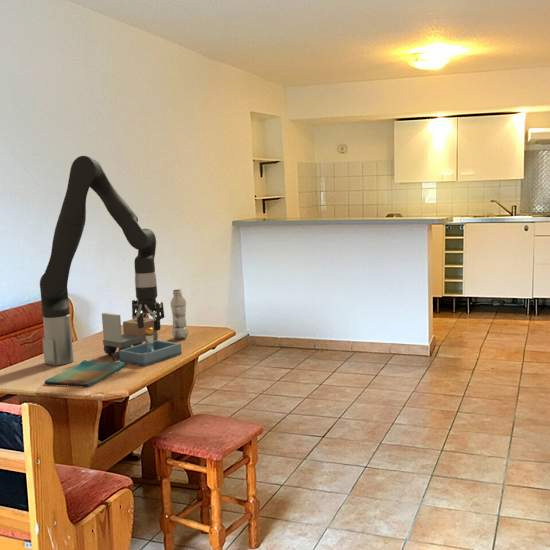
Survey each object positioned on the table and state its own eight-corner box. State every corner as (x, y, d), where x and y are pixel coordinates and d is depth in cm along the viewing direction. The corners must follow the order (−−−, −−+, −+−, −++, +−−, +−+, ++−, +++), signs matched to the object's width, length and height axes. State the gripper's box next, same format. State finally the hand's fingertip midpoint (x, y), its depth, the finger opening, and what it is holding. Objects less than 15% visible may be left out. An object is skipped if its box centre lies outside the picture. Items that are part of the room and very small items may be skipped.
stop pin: (150, 356, 230) (148, 329, 228) (145, 355, 231) (143, 328, 230) (156, 354, 232) (154, 327, 231) (151, 353, 234) (149, 327, 232)
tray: (144, 366, 221) (143, 355, 220) (119, 361, 228) (118, 350, 228) (181, 354, 235) (180, 343, 234) (157, 350, 243) (156, 339, 242)
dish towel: (127, 368, 222) (126, 361, 221) (90, 389, 199) (89, 381, 199) (83, 366, 226) (83, 359, 226) (43, 386, 204) (42, 378, 204)
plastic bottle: (169, 340, 258) (166, 291, 255) (176, 336, 264) (173, 288, 262) (184, 340, 256) (181, 291, 253) (191, 336, 262) (188, 288, 260)
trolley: (117, 360, 230) (113, 316, 228) (98, 356, 236) (95, 314, 234) (160, 347, 247) (157, 306, 244) (141, 344, 253) (138, 304, 251)
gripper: (124, 285, 229) (127, 329, 231) (151, 287, 221) (154, 333, 223) (140, 282, 235) (143, 325, 237) (167, 284, 227) (170, 329, 229)
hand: (149, 329), depth 230 cm, fingers open, 8 cm apart
